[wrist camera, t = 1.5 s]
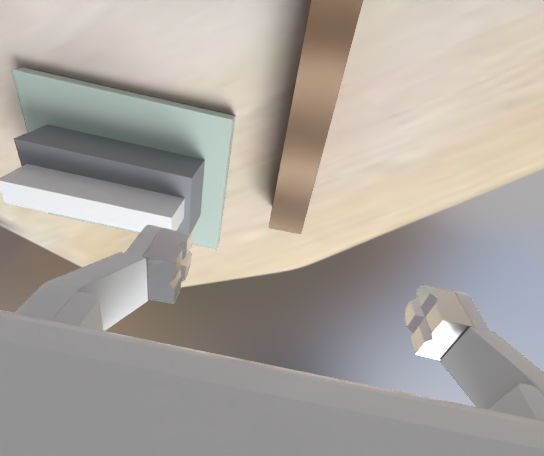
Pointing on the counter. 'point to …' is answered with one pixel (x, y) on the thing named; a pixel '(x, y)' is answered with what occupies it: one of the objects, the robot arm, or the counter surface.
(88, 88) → the ridge stand
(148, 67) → the counter surface
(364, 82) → the counter surface
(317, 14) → the walnut batten
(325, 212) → the counter surface
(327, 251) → the counter surface
